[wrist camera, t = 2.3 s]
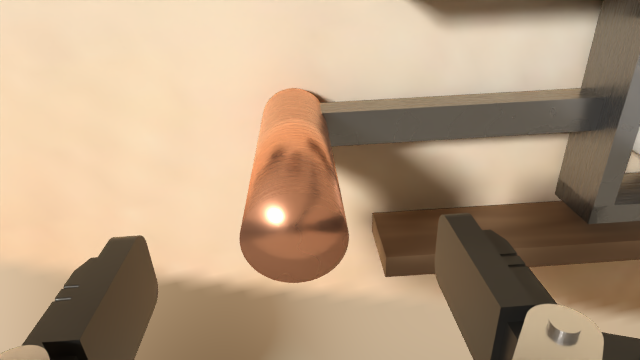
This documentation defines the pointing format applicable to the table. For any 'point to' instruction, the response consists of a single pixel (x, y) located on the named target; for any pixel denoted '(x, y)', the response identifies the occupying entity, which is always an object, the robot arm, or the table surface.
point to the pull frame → (439, 124)
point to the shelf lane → (506, 236)
